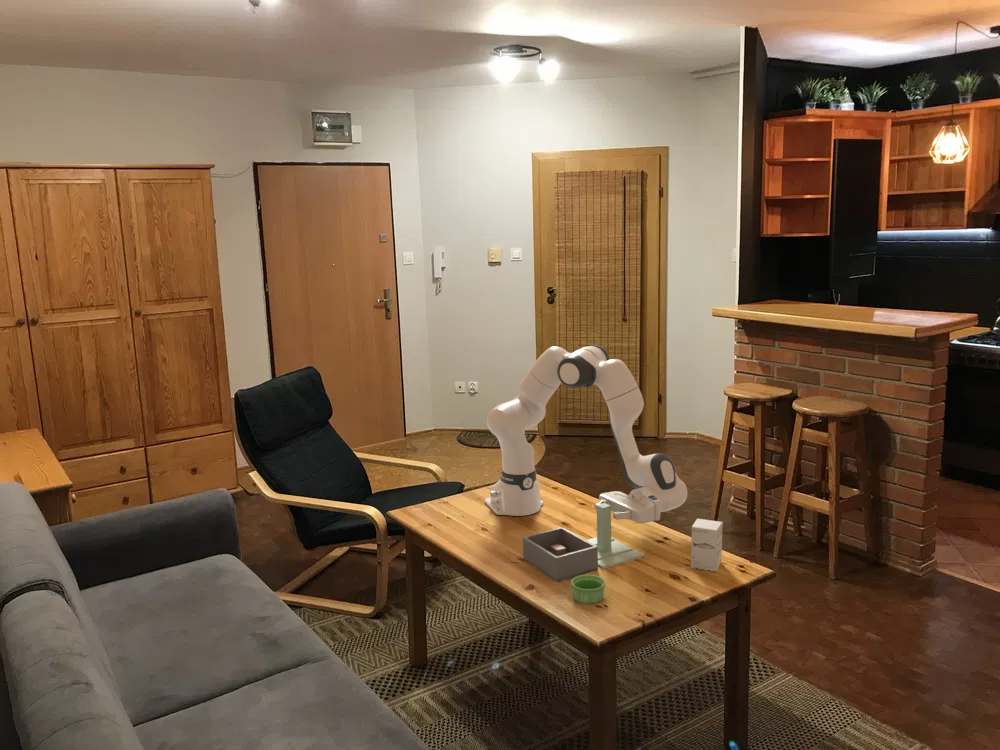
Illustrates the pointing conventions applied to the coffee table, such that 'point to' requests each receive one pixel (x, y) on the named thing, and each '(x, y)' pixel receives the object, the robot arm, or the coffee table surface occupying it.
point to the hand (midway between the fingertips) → (605, 511)
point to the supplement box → (706, 544)
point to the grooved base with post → (610, 542)
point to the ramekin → (588, 588)
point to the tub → (560, 554)
